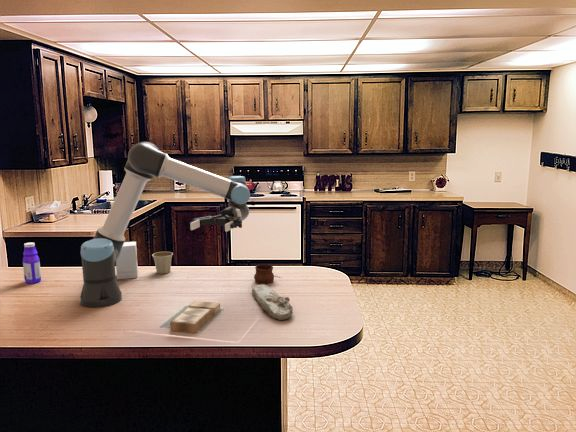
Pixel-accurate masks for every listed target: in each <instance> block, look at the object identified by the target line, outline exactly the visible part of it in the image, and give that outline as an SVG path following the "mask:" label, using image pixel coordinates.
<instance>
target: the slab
mask: <svg viewBox="0 0 576 432" xmlns="http://www.w3.org/2000/svg"><path fill="white" fill-rule="evenodd" d="M211 318H212V309H202V308H190V307H188V308H187V309H185V310H184V311H183V312H182V313H181V314H179V315H178V316H177V317H176V318H174V319H173V320H172V321H171V322H170V328H169V329H170V331H171V332H179V333H180V332H181V333H189V334H197V333H198V332H200V331H199V330H200V329H201V328H202V327H203V326H204V325H205V324H206V323H207V322H208V321H209V320H210V319H211Z"/></svg>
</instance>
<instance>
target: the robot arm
mask: <svg viewBox="0 0 576 432" xmlns="http://www.w3.org/2000/svg"><path fill="white" fill-rule="evenodd" d="M123 168H124V171H125V175H124V178H123V180H122V182H121V185H120V187H119V189H118V192H117V194H116V196H115V198H114V199H113V200H114V201H113V203H112V205H111V207H110V210H109V213H108V215H107V216H106V219H105V221H104V224H103V225H102V226H101V227H99V228H97V229H96V232H95V234H94V236H93V238H92V239H89V240H87V241H85V242H83V243H82V244H81V246H80V257H81V258H80V259H81V266H82V279H83V284H82V289H81V291H80V297H79V301H80V305H81V306H83V307H87V308H101V307H106V306H111V305H114V304H117V303H119V302H120V301H122V299H123V295H122V291H121V288H120V286H119V284H118V281H117V275H116V259H117V258H118V257H119V255H120V253H121V249H122V246H123V244H124V242H126V237H125V232H126V230H127V228H128V226H129V222H130V221H131V219H132V216H133V214H134V212H135V209H136V207H137V205H138V202H139V200H140V198H141V196H142V193H143V191H144V189H145V187H146V184H147V183H148V182H149V181H152V180H153V178H154V177H156V178H161V177H165V178H166V179H170V180H172V181H175V182H177V183H178V182H179V183H181V184H184V185H187V186H189V187H192V188H195V189H198V190H200V191H203V192H206V193H209V194H212V195H215V196H217V197H221V198H224V199H226V200H228V202H227V203H228V207H226V208H224V209H222V210H220V211H219V213H218V214H216V215H207V216H202V217H201V216H200V217H195V218H192V219H191V222H190V223H189V224H190V226H189V227H190V228H189V229H190V231H194V230H196V229H199V228H200V227H201V226H208V225H212V226H221V227H222V228H224V231H225V232H230V231H231V230H233V229H237V228H240V229H242V228H243V221H245V220H246V219H247V218H248V217H249V215H250V209H249V207H248V205H247V202H248V201H250V198H251V192H250V189H249V188H248V186H247V181H246V177H245V176H243V175H242V176H241V175H232V176H229V177H227V178H225V177H223V176H220V175H217V174H214V173H212V172H210V171H206V170H204V169H202V168H199V167H196V166H193V165H190V164H187V163H185V162H183V161H181V160H178V159H174V158H171V157H170V156H169V155H168V153H166V152H163V151H161V149H159V147H158V146H157V145H156V144H154V143H153V142H149V141H141V142H137V143H136V144H133V146H131V148H130V149H129V151H128V154H127V161H126V164H125V166H124V167H123Z"/></svg>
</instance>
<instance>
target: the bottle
mask: <svg viewBox="0 0 576 432" xmlns="http://www.w3.org/2000/svg"><path fill="white" fill-rule="evenodd" d="M35 245H36V244H35V242H26V243H25V242H24V244H23V246H24V248H23V249H24V250H23V253H22V255H23V258H22V266H23V267H22V269H23V278H24V281H25V283H28V284H37V283H40V282H41V281H42V274H41V273H42V272H41V262H40V257H39V256H38V253H39V252H38V251H37V248H36V246H35Z"/></svg>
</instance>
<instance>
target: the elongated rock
mask: <svg viewBox="0 0 576 432" xmlns="http://www.w3.org/2000/svg"><path fill="white" fill-rule="evenodd" d="M251 292H252V295H253V298H254V299H255V300H256V301H257V304H258V305H260V306H261V308H262V310H264V311H265V312H266V313H267V314H268V315H269V316H270V317H271V318H273V319H277V320H279V321H282V320H283V321H285V320H288V319H290V318H291V315H292V314H293V311H294V310H293V306H292V305H291V303H290V300H291V299H290V298H289V296H280V295H279V294H278V293H277V292H276V291H275V290H274V289H273V288H271V287H270V286H269V285H268V284H257V285H254V286H253V287H252V290H251Z"/></svg>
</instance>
